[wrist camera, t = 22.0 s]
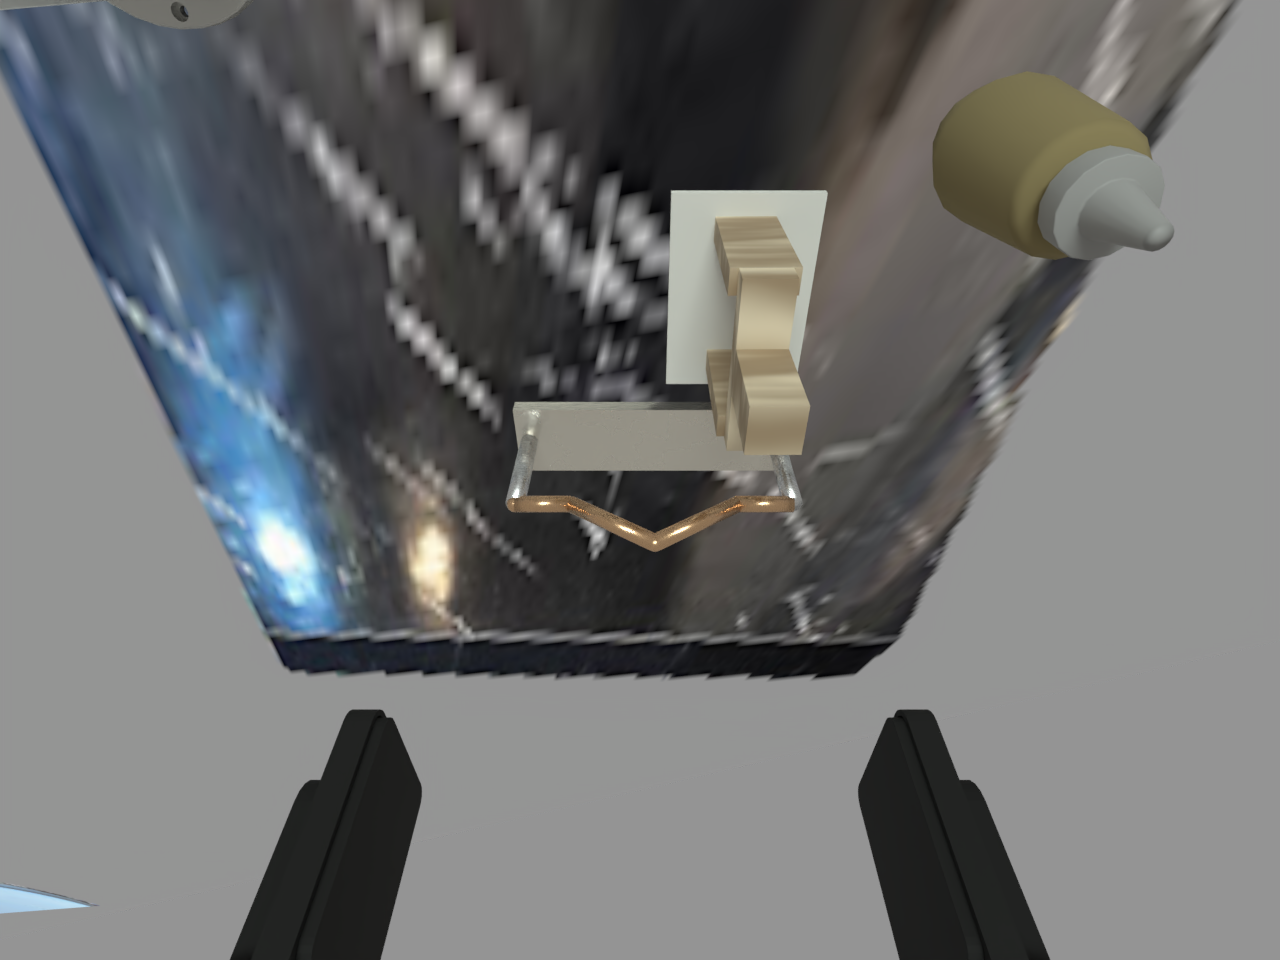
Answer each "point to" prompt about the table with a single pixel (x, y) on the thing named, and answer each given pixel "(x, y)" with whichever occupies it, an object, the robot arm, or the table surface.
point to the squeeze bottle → (1049, 171)
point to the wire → (635, 459)
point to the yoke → (758, 341)
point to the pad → (697, 277)
